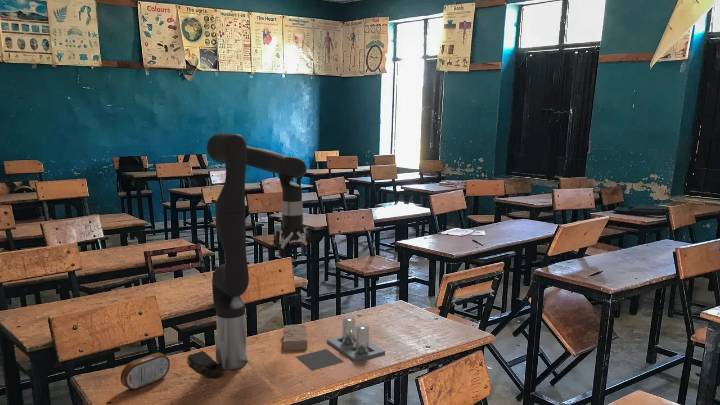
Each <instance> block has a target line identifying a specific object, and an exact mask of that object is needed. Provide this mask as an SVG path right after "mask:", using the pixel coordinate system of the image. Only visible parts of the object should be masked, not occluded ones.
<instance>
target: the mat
mask: <svg viewBox="0 0 720 405" xmlns="http://www.w3.org/2000/svg"><path fill="white" fill-rule="evenodd" d="M295 358H296V359H297V360H298V361H299V362H301V363H302V364H303V365H305V367H307V369H309V370H310V371H312V372H313V371H315V370H319V369H323V368H327V367H330V366H334V365H337V364H342V363H345V361H343V360H342V359H341V358H340V357H338V356H337V355H336V354H334V353H333V352H331V351H330V350H329V349H327V348H325V349H321V350H316V351H313V352H309V353H305V354H301V355H296V356H295Z"/></svg>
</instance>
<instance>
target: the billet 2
mask: <svg viewBox="0 0 720 405" xmlns="http://www.w3.org/2000/svg"><path fill="white" fill-rule="evenodd" d="M355 335H356V341H355V343H356V350H355V353H357V354H358V355H362V354H366V353H370V350H369V341H370V327H369V326H368V325H365V324H359V325H355Z"/></svg>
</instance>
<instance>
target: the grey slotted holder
mask: <svg viewBox="0 0 720 405" xmlns="http://www.w3.org/2000/svg"><path fill="white" fill-rule="evenodd" d="M326 342H327V343H328V344H329V345H330V346H332V347H333V348H335V349H336V350H338V351H339V352H340V353H342V354H343V355H344V356H346V357H347V358H348V359H350V360H352V361H353V362H354V363H358V362H361V361H364V360H367V359H372V358H376V357H380V356H384V357H386V351H385V350H384V349H382V348H381V347H379V346H377V345H376V344H375V343H373V342H371V341H370V340H369V353H366V354H362V355H358V354H357V353H356V335H355V344H351V345H347V346H345V345H344V344H342V335H340V336H336V337H332V338H328V339H327V340H326Z"/></svg>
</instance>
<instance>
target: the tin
mask: <svg viewBox="0 0 720 405" xmlns="http://www.w3.org/2000/svg"><path fill="white" fill-rule="evenodd" d="M170 364H171V361H170V359H169V357H168V356H166V355H165V354H164V353H162V352H155V353H152V354H149V355H146V356H143V357H140V358H137V359H134V360H132V361H130V362H128V363H127V364H126V365H125V366H124V367H123V369H122V371H121V373H120V383H121V385H122V386H124V387H125V388H126V389H129V390H133V389H134V390H138V389H140V388H139V387H141V388H143V387H145V385H146V386H149V385H150V384H154V383H156V382H158V381H160V380H162V379H164V378H165V377H166V375H167V374H168V373H169V371H170V366H171V365H170ZM142 386H143V387H142ZM137 388H138V389H137Z"/></svg>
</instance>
